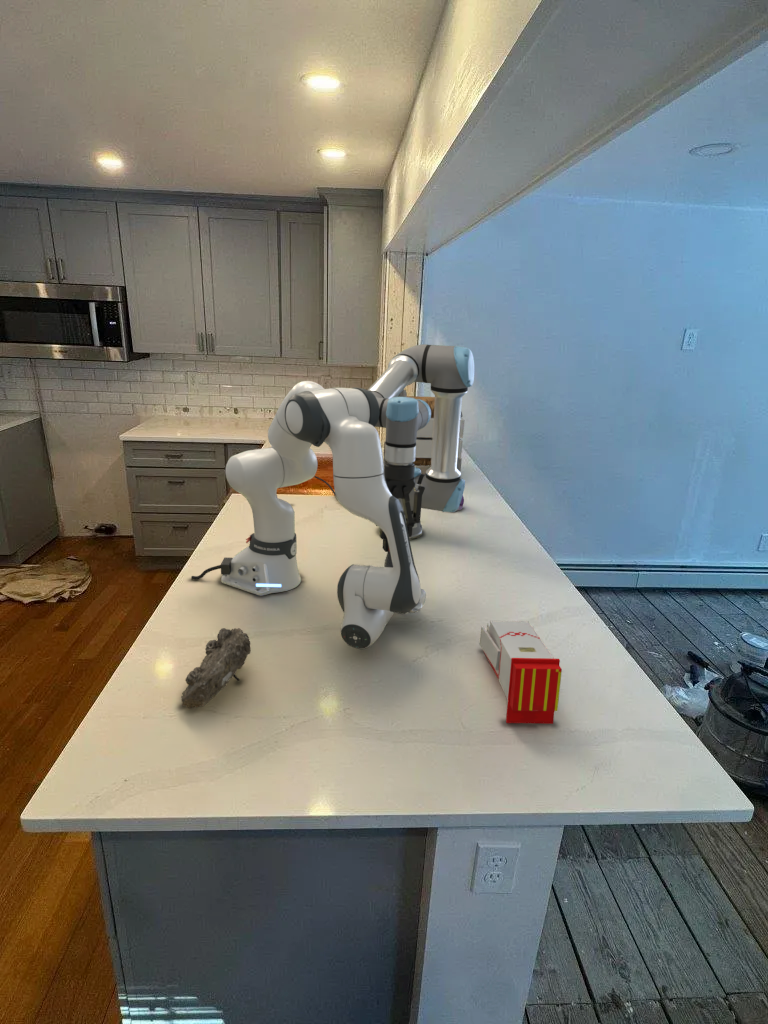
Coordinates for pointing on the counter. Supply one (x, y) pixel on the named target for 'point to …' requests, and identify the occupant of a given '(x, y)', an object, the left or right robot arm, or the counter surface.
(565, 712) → the counter surface
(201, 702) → the fossil
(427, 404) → the right robot arm
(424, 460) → the white wooden crate
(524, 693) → the toy
